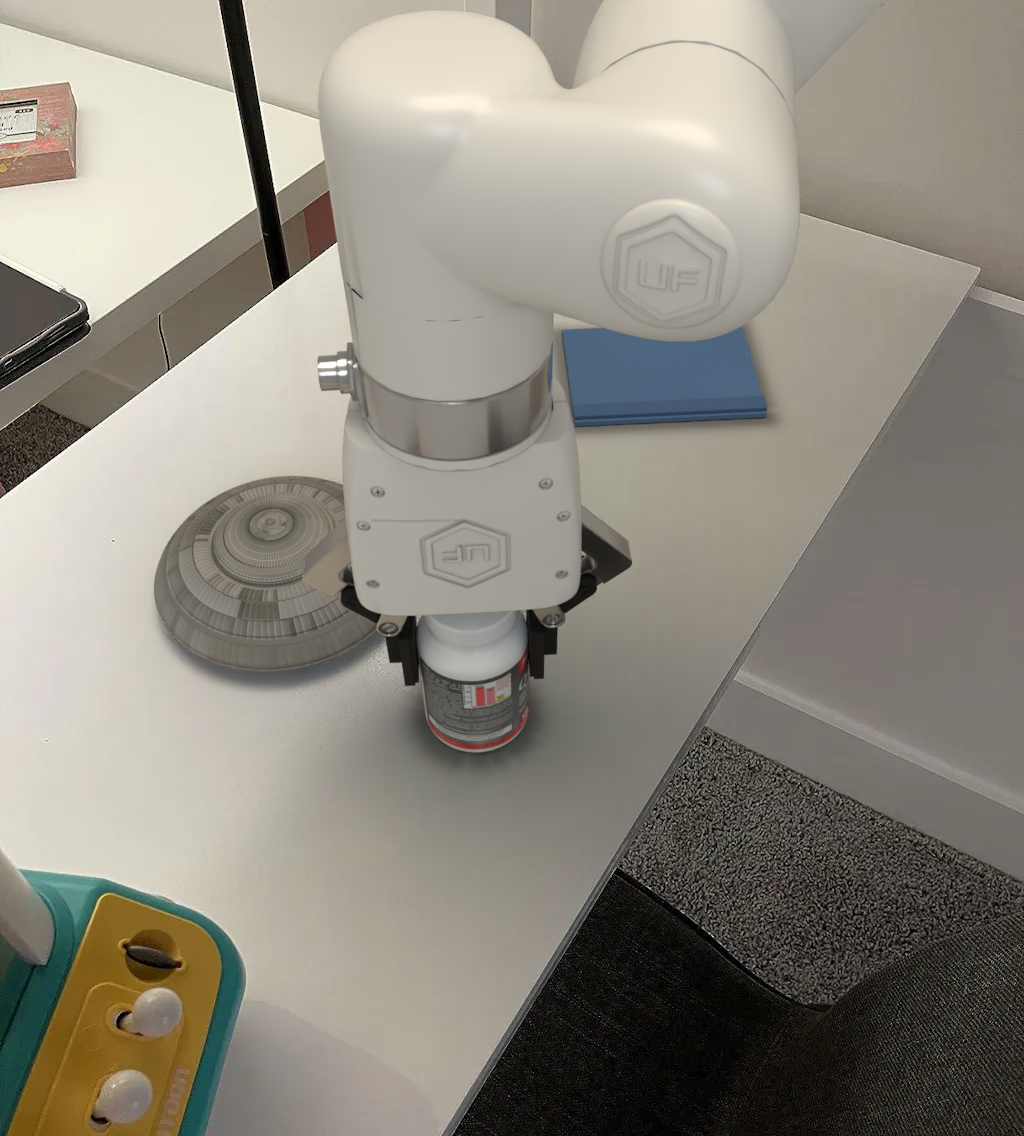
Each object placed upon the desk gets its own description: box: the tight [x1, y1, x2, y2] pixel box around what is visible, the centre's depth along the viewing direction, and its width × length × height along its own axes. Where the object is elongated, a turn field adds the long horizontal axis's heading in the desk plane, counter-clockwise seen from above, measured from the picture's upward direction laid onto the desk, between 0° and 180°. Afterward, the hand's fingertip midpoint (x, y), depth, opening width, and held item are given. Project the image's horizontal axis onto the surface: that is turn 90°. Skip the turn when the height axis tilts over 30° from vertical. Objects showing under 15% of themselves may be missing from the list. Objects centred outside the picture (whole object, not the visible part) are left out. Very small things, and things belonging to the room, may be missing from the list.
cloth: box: [561, 326, 768, 427], centre depth 79 cm, size 13×10×1 cm
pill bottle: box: [416, 610, 530, 753], centre depth 58 cm, size 6×6×10 cm
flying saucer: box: [153, 475, 377, 672], centre depth 66 cm, size 15×15×6 cm
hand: (473, 658), depth 58 cm, fingers closed on pill bottle, 5 cm apart
